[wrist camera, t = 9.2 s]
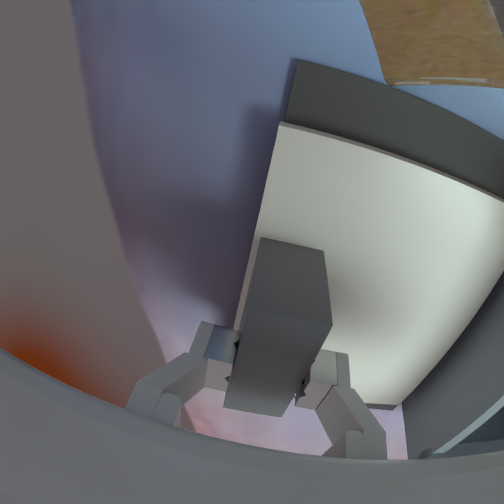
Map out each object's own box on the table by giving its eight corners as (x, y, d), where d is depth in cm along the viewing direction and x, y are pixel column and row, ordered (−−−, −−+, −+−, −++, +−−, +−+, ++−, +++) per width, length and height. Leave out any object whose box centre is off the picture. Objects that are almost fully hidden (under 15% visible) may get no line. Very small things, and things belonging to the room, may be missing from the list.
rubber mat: (298, 59, 10) (298, 59, 10) (546, 169, 10) (549, 171, 9) (224, 378, 21) (223, 382, 20) (392, 407, 20) (392, 410, 20)
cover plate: (279, 121, 11) (273, 158, 7) (523, 209, 11) (581, 268, 7) (223, 371, 19) (209, 440, 15) (397, 395, 19) (407, 456, 15)
